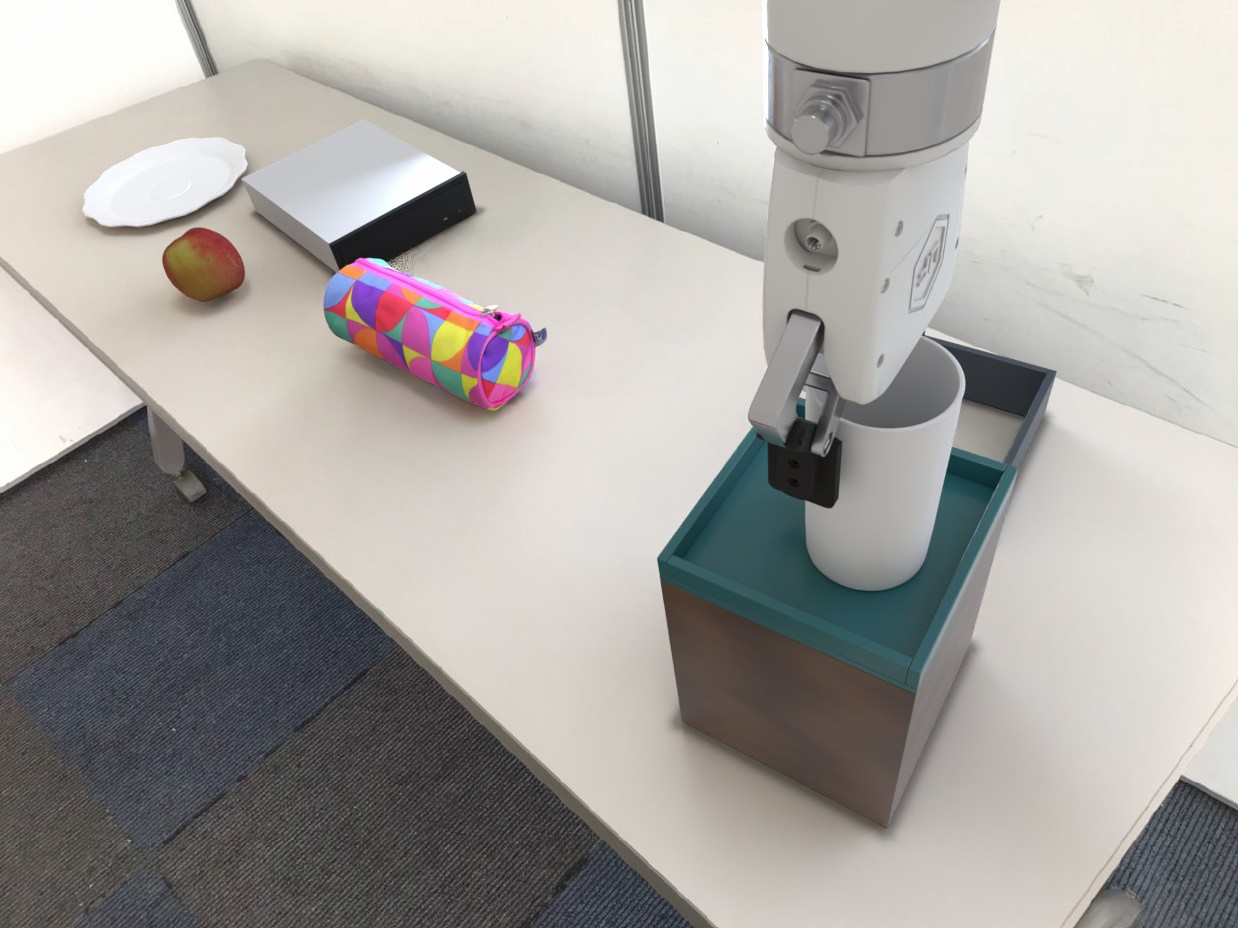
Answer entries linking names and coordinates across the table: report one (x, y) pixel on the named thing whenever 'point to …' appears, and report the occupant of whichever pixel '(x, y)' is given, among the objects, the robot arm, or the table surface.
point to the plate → (164, 182)
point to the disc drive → (360, 195)
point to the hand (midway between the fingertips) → (847, 425)
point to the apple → (203, 264)
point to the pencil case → (432, 332)
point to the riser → (813, 698)
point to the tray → (802, 595)
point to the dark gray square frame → (1006, 390)
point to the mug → (887, 473)
